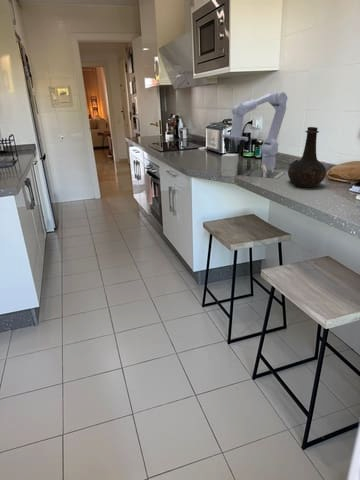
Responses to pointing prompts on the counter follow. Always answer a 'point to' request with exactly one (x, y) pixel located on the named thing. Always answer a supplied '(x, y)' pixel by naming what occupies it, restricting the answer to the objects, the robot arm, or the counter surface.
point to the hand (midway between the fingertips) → (233, 152)
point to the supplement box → (230, 165)
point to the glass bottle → (308, 164)
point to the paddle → (263, 167)
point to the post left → (240, 168)
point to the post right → (248, 164)
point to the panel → (266, 174)
